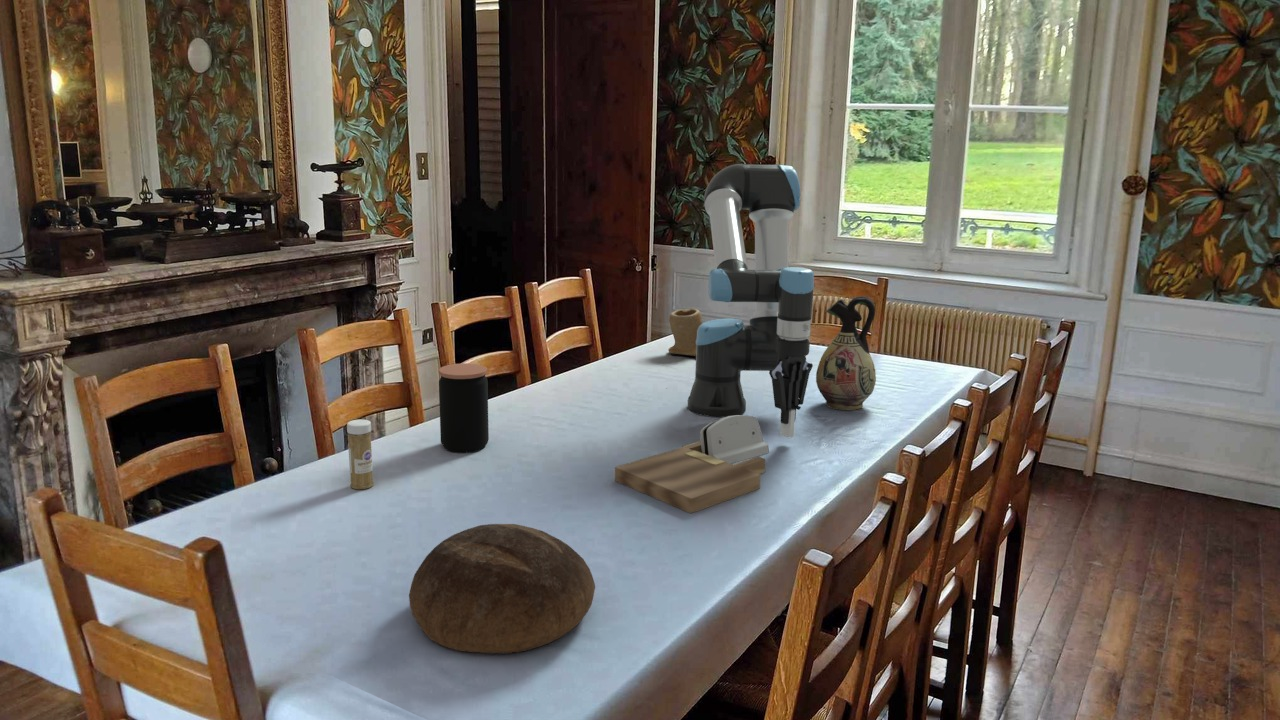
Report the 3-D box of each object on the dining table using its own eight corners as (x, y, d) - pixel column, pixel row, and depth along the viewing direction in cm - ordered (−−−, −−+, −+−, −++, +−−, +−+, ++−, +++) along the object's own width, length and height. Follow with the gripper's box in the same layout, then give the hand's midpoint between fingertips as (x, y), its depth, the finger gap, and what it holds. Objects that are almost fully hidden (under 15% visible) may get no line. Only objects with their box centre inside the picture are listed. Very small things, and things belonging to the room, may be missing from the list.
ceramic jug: (808, 410, 249) (815, 296, 241) (820, 395, 262) (827, 287, 255) (874, 418, 242) (884, 302, 235) (883, 403, 256) (892, 293, 249)
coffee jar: (497, 442, 218) (496, 366, 214) (470, 456, 209) (469, 377, 204) (459, 435, 223) (457, 361, 218) (431, 449, 213) (428, 371, 209)
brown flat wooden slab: (613, 480, 197) (613, 465, 196) (707, 451, 215) (707, 438, 214) (690, 513, 181) (691, 497, 180) (784, 479, 199) (785, 464, 198)
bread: (515, 684, 125) (514, 593, 122) (374, 624, 139) (369, 541, 136) (625, 604, 146) (627, 525, 143) (493, 560, 160) (492, 486, 157)
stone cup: (661, 356, 303) (662, 310, 299) (677, 349, 313) (678, 304, 310) (704, 362, 296) (706, 315, 293) (719, 354, 307) (721, 309, 303)
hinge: (717, 467, 205) (708, 422, 206) (703, 468, 209) (694, 423, 209) (770, 452, 216) (762, 408, 216) (756, 453, 219) (747, 411, 220)
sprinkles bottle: (365, 491, 188) (362, 426, 185) (345, 488, 189) (341, 424, 186) (378, 483, 192) (375, 420, 189) (358, 480, 194) (355, 417, 190)
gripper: (787, 344, 208) (781, 446, 214) (824, 335, 216) (817, 434, 222) (761, 337, 213) (756, 437, 219) (798, 329, 222) (792, 426, 228)
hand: (787, 435), depth 221 cm, fingers closed
